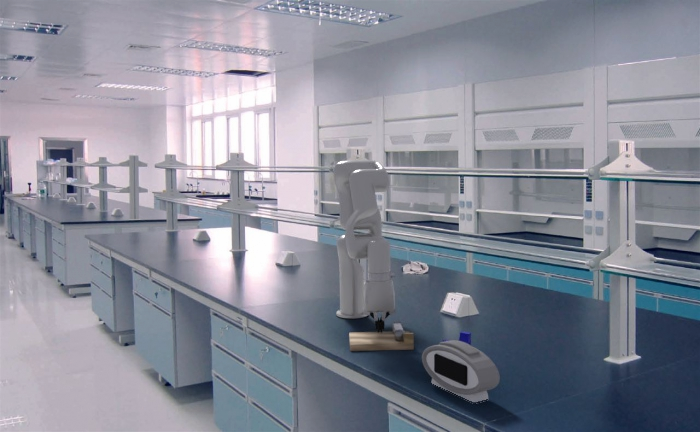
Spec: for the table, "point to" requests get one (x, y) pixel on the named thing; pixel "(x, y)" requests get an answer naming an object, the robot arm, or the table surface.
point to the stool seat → (379, 341)
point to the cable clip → (464, 337)
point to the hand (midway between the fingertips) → (379, 331)
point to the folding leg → (398, 331)
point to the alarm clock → (461, 369)
